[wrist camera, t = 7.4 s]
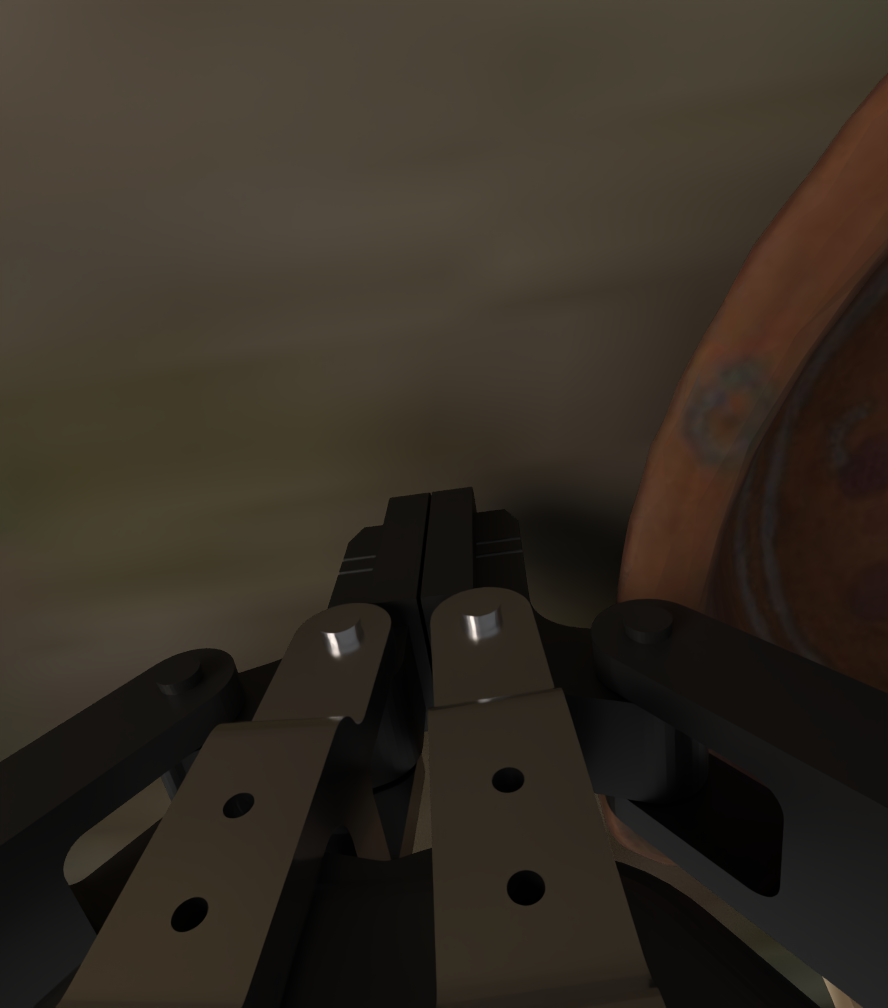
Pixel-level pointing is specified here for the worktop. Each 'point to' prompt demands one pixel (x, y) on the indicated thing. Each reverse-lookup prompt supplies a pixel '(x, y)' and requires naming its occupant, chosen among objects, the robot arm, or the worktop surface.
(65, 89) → the worktop surface
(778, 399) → the dish
